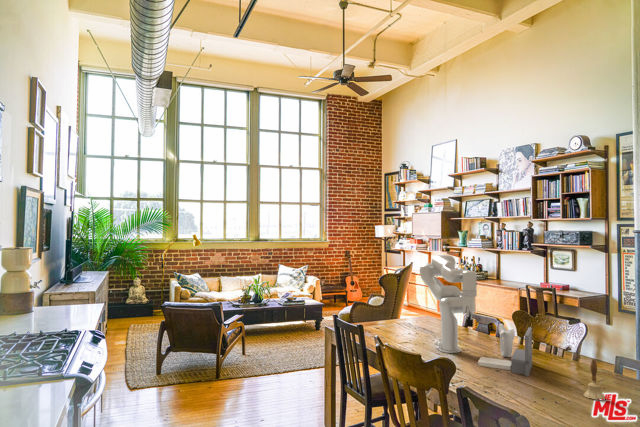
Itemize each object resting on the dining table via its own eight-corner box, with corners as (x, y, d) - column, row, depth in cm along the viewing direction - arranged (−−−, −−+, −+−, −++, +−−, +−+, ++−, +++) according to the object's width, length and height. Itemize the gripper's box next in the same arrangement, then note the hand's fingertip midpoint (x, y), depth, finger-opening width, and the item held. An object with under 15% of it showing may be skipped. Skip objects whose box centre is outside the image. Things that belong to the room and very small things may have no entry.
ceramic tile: (478, 366, 228) (478, 361, 228) (481, 361, 236) (481, 356, 237) (510, 371, 220) (510, 366, 220) (512, 365, 229) (512, 361, 229)
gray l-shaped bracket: (511, 373, 215) (510, 333, 215) (516, 362, 233) (515, 325, 233) (528, 376, 210) (528, 335, 211) (532, 364, 228) (531, 327, 229)
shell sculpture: (516, 359, 239) (515, 326, 240) (500, 358, 241) (500, 326, 241) (512, 354, 247) (512, 323, 248) (497, 353, 249) (496, 322, 249)
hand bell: (579, 393, 189) (578, 357, 189) (596, 393, 190) (595, 356, 190) (592, 401, 181) (591, 363, 181) (610, 400, 181) (610, 362, 182)
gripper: (465, 291, 245) (465, 323, 244) (459, 294, 232) (459, 328, 231) (479, 292, 241) (479, 324, 240) (473, 295, 228) (474, 330, 227)
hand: (469, 326), depth 236 cm, fingers closed
